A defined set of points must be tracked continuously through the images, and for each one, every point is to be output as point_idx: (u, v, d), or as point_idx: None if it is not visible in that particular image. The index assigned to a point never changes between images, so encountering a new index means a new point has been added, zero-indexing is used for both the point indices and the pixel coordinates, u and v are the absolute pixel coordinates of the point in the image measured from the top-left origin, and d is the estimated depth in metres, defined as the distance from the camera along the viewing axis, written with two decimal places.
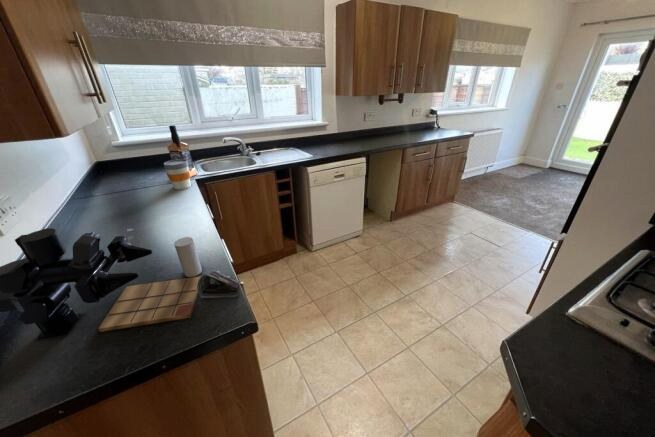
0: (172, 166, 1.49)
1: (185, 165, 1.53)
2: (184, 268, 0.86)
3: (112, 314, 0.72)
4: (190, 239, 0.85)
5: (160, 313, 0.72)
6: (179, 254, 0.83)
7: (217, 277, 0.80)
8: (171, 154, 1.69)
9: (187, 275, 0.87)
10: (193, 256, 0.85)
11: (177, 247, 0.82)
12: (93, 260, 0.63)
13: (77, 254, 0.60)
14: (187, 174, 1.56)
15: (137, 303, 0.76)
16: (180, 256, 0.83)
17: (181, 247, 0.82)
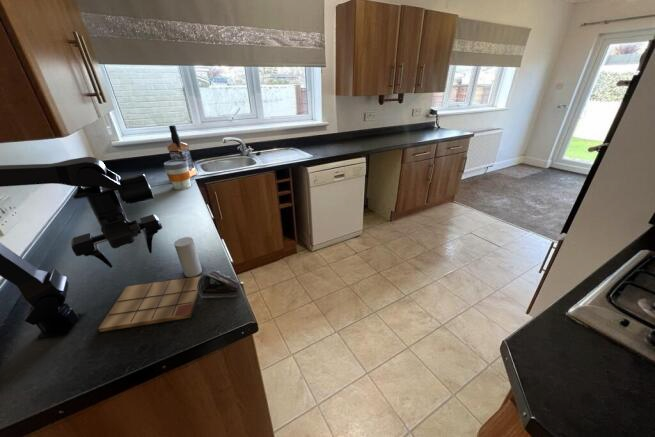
0: (172, 166, 1.49)
1: (185, 165, 1.53)
2: (184, 268, 0.86)
3: (112, 314, 0.72)
4: (190, 239, 0.85)
5: (160, 313, 0.72)
6: (179, 254, 0.83)
7: (217, 277, 0.80)
8: (171, 154, 1.69)
9: (187, 275, 0.87)
10: (193, 256, 0.85)
11: (177, 247, 0.82)
12: None
13: (106, 236, 0.64)
14: (187, 174, 1.56)
15: (137, 303, 0.76)
16: (180, 256, 0.83)
17: (181, 247, 0.82)
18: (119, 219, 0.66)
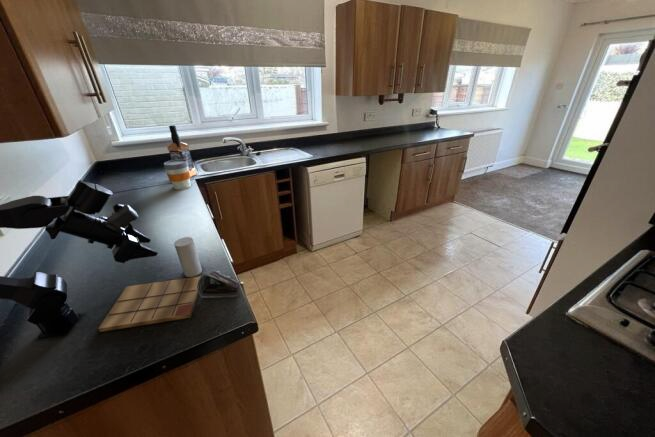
0: (172, 166, 1.49)
1: (185, 165, 1.53)
2: (184, 268, 0.86)
3: (112, 314, 0.72)
4: (190, 239, 0.85)
5: (160, 313, 0.72)
6: (179, 254, 0.83)
7: (217, 277, 0.80)
8: (171, 154, 1.69)
9: (187, 275, 0.87)
10: (193, 256, 0.85)
11: (177, 247, 0.82)
12: None
13: (123, 217, 0.69)
14: (187, 174, 1.56)
15: (137, 303, 0.76)
16: (180, 256, 0.83)
17: (181, 247, 0.82)
18: (106, 218, 0.70)
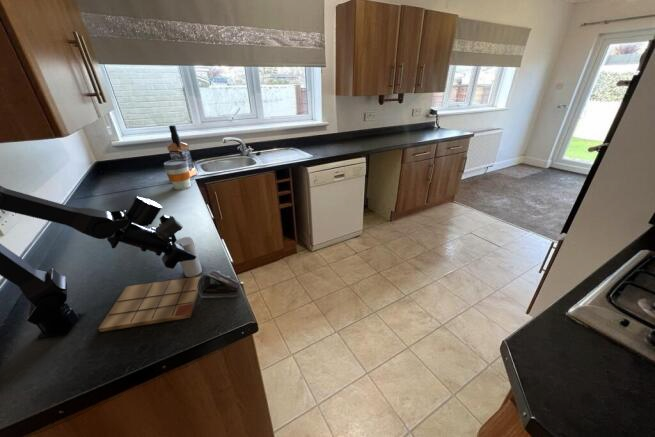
0: (172, 166, 1.49)
1: (185, 165, 1.53)
2: (184, 268, 0.86)
3: (112, 314, 0.72)
4: (190, 239, 0.85)
5: (160, 313, 0.72)
6: None
7: (217, 277, 0.80)
8: (171, 154, 1.69)
9: (187, 275, 0.87)
10: None
11: None
12: None
13: (170, 228, 0.78)
14: (187, 174, 1.56)
15: (137, 303, 0.76)
16: None
17: None
18: (155, 229, 0.78)
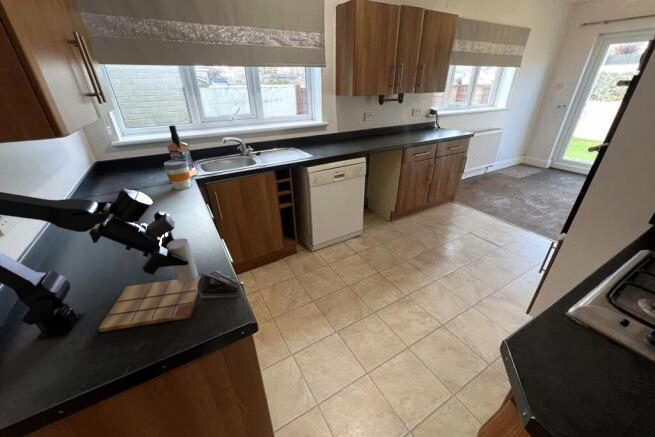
0: (172, 166, 1.49)
1: (185, 165, 1.53)
2: (176, 272, 0.76)
3: (112, 314, 0.72)
4: (185, 241, 0.75)
5: (160, 313, 0.72)
6: None
7: (217, 277, 0.80)
8: (171, 154, 1.69)
9: (179, 280, 0.77)
10: None
11: None
12: (158, 237, 0.70)
13: (159, 228, 0.68)
14: (187, 174, 1.56)
15: (137, 303, 0.76)
16: None
17: None
18: (146, 226, 0.70)
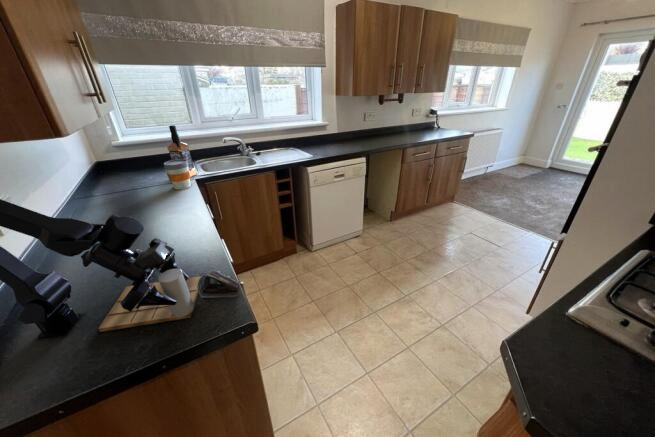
0: (172, 166, 1.49)
1: (185, 165, 1.53)
2: None
3: (112, 314, 0.72)
4: (178, 274, 0.68)
5: (160, 313, 0.72)
6: (162, 289, 0.68)
7: (217, 277, 0.80)
8: (171, 154, 1.69)
9: (172, 313, 0.71)
10: (177, 296, 0.68)
11: None
12: None
13: (147, 259, 0.62)
14: (187, 174, 1.56)
15: None
16: (163, 291, 0.68)
17: (161, 283, 0.66)
18: (139, 253, 0.65)
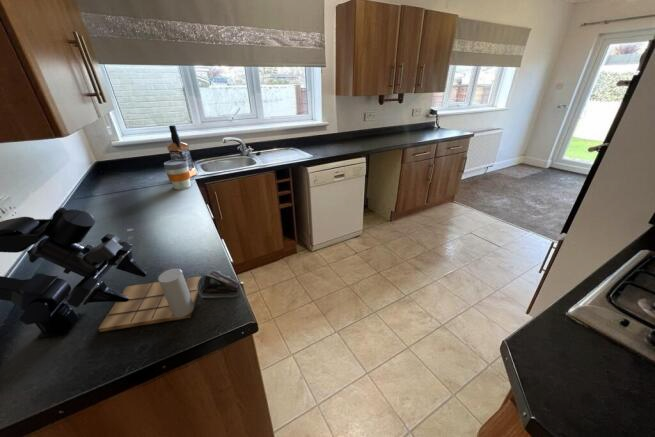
0: (172, 166, 1.49)
1: (185, 165, 1.53)
2: None
3: (112, 314, 0.72)
4: (178, 274, 0.68)
5: (160, 313, 0.72)
6: (162, 289, 0.68)
7: (217, 277, 0.80)
8: (171, 154, 1.69)
9: (172, 313, 0.71)
10: (177, 296, 0.68)
11: None
12: (100, 263, 0.63)
13: (96, 255, 0.61)
14: (187, 174, 1.56)
15: (137, 303, 0.76)
16: (163, 291, 0.68)
17: (161, 283, 0.66)
18: (91, 249, 0.64)
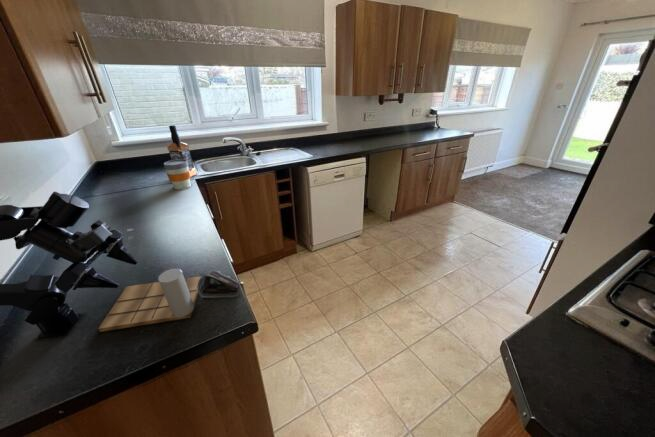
0: (172, 166, 1.49)
1: (185, 165, 1.53)
2: None
3: (112, 314, 0.72)
4: (178, 274, 0.68)
5: (160, 313, 0.72)
6: (162, 289, 0.68)
7: (217, 277, 0.80)
8: (171, 154, 1.69)
9: (172, 313, 0.71)
10: (177, 296, 0.68)
11: None
12: (89, 249, 0.64)
13: (85, 241, 0.61)
14: (187, 174, 1.56)
15: (137, 303, 0.76)
16: (163, 291, 0.68)
17: (161, 283, 0.66)
18: (80, 235, 0.64)
